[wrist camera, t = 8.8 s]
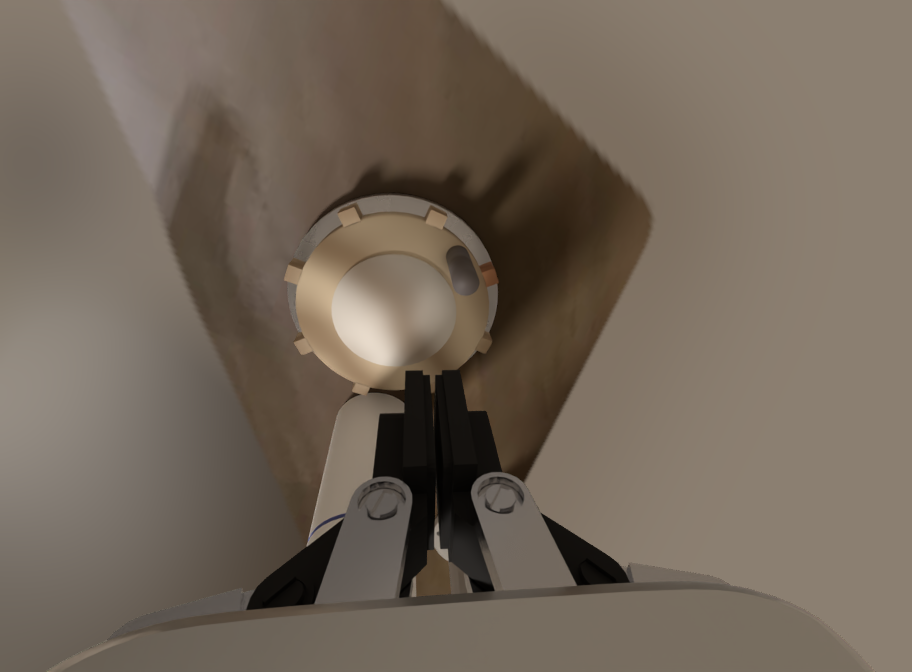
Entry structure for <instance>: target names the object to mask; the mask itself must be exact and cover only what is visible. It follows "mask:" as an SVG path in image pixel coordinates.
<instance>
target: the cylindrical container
mask: <svg viewBox="0 0 912 672" xmlns="http://www.w3.org/2000/svg"><path fill="white" fill-rule="evenodd" d="M381 413H404V403H403V402H402V401H401V400H399V399H398V398H396V397H394V396H391V395H388V394H383V393H367V395H366V396H365V395H358V396H356V397H353V398H352V399H350V400H348V401H347V402H346V403H345V404H344V405H343V406H342V407H341V408H340V410H339V412H338V414H337V418H336V422H335V427H334V431H333V435H332V439H331V444H330V448H329V452H328V457H327V461H326V465H325V470H324V474H323V478H322V482H321V487H320V491H319V495H318V500H317V504H316V508H315V513H314V517H313V521H312V526H311V530H310V534H309V539H308V543H307V546H308V545H310V544H311V543H312V542H314V541H315V540H316V539H317V538H319V537H320V536H321V535H323V534H324V533H325V532H326V531H328V530H329V529H330V528H332V527H333V526H334V525H336V524H337V523H338V522H339V521H341V520H342V519H343V518H344V517H345V514H346V511H347V509H348V506H349V503H350V500H351V497H352V495H353V494H354V492H355V490H356V489H357V488H358V487H359V486H360V485H361V484H363V483H364V482H366V481H368V480H370V479H372V476H373V467H374V458H375V449H376V440H377V431H378V422H379V415H380V414H381ZM412 597H416V576H415V577H414V578H413V590H412Z"/></svg>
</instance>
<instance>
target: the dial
mask: <svg viewBox="0 0 912 672" xmlns="http://www.w3.org/2000/svg"><path fill="white" fill-rule="evenodd" d="M337 215H338V217H339V219H340V221H341V223H342V225H340V226H339V227H337V228H336V229H334V230H333V231H331V232H330V233H329V234H328V235H327V236H326V237H325V238H323V239H322V241H321V242H320V243H319V244H318V245H317V247H316V248H315V249H314V251H313V252H312V254H311V255H310V257H309V259H308V260H307V262H304V261H301V260H299V259H296V258H293V259H292V261H291V262H290V263H289V265H288V268H287V271H286V274H285V278H284V280H285V281H288V282H291V283H293V284H296V285H297V291H296V312H297V317H298V321H299V325H300V328H301V330H302V332H299V333H298V334H297V336H296V338H295V340H294V344H295V345H296V347H297V348H298V350H299V352H300V353H301V355H303V354H306V353H309V352H312V351H314V353H315V354H316V355H317V356H318V357H319V358H320V360H321V361H322V362H323V363H325V364H326V365H327V366H328V367H329V368H331V369H332V370H333V371H335V372H336V373H338V374H339V375H341V376H342V377H344V378H346V379H348V380H350V381H352V382H354V384H353V389H352V392H355V393H358V394H361V395H365V396H366V395H367V393H368V391H369V389H370V387H371V388H376V389H383V390H405V371H409V370H423V375H430V384H431V393H434V392H435V375H442V370H457V369H458V368H459V367H460V366H462V365H463V364H464V363H465V362H466V361H467V360H468V359H469V357H470V356H471V355H472V354H473V353H474V351H475V350H476V351H479V352H482V353H484V354H486V352H487V351H488V349H489V347H490V345H491V344H492V339H491V336H490V333H489V332H486V331H485V329H486V326H487V321H488V315H489V297H488V290H487V287H489V286H492V285H495V284H497V283H499V281H498V278H497V275H496V272H495V269H494V267H493V265H492V263H491V261H490V262H488V263H485V264H482V265H480V266H479V265H478V263H477V261H476V259H475V257H474V256H473V254H472V252H471V251H470V250H469V249H468V247H467V246H466V245H465V244H464V242H463V241H461V240H460V239H459V238H458V237H457V236H456V235H455V234H454V233H453V232H451V231H450V230H448V229H447V228H446V227H444V224H445V222H446V220H447V218H448V217H447V214H446V212H445V211H443V210H440V209H438V208H436V207H434V206H432V205H430V206H429V209H428V211H427V213H426V216H425V217H422V216H419V215H415V214H411V213H405V212H395V211H392V212H377V213H371V214H366V215H362V212H361V210H360V208H359V206H358V204H357V202H356V203H354V204H351V205H349V206H346V207H343V208H341V209H340V210H339V212H338V213H337Z"/></svg>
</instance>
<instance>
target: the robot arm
mask: <svg viewBox="0 0 912 672" xmlns="http://www.w3.org/2000/svg"><path fill="white" fill-rule="evenodd" d="M435 493H436V494H437V509H438V516H437V517H436V519H435ZM434 547H435V549H436V550H437V552H438V553H439V554H440V555H441V556H442V557H443V558H444V559H446V560H448V561H449V571H450V583H451V594H448V595H434V596H420V597H412V590H413V578H414V577H415V576H416V575H417V574H418V573H419V572H420V571H421V570H422V569H423V568H424V567H425V566H426V564H427V550H434ZM46 672H876V671H875V670H874V669H873V668H872V667H871V666H870V665H869V664H868V663H867V662H866V661H865V660H864V659H863V658H862V657H861V656H860V655H859V654H858V652H857V651H855V649H853V648H852V647H851V646H850V645H849V644H848V643H847V642H846V641H845V640H844V639H843V638H842V637H841V636H840V635H839V634H837V632H835V631H834V630H833V629H832V628H831V627H830V626H828V625H827V624H826V623H824V622H823V621H822V620H821V619H819V618H818V617H816V616H815V615H813V614H811V613H810V612H808V611H806V610H805V609H803V608H800V607H798V606H796V605H794V604H792V603H790V602H787V601H785V600H782V599H780V598H777V597H775V596H771V595H768V594H765V593H762V592H758V591H755V590H752V589H748V588H743V587H737V586H732V585H730V584H728V583H726V582H725V581H723V580H722V579H719V578H716V577H713V576H709V575H703V574H696V573H691V572H685V571H679V570H672V569H666V568H660V567H654V566H648V565H641V564H635V563H629V565H628V567H624V566H620V565H619V564H618V563H617V562H616V561H615V560H614V559H612V558H611V557H610V556H608V555H607V554H605V553H603V552H602V551H600V550H599V549H597V548H596V547H594V546H593V545H591V544H589V543H588V542H586V541H585V540H583V539H581V538H580V537H578V536H577V535H575V534H573V533H572V532H570V531H569V530H567V529H566V528H564V527H562V526H561V525H559V524H558V523H556V522H555V521H553V520H551V519H550V518H548V517H547V516H545V515H543V514H542V513H540V511H539V509H538V507H537V505H536V504H535V501H534V500H533V498H532V496H531V494H530V492H529V490H528V488H527V487H526V485H525V484H524V483H523V482H522V481H521V480H519V479H518V478H517V477H515V476H512V475H510V474H507V473H502V469H501V466H500V462H499V458H498V454H497V450H496V446H495V442H494V438H493V434H492V430H491V426H490V423H489V419H488V415H487V412H486V411H468V410H467V405H466V400H465V395H464V389H463V384H462V379H461V374H460V370H442V375H435V402H434V427H433V412H432V398H431V384H430V375H423V370H409V371H405V401H404V413H381V414H380V415H379V422H378V431H377V440H376V449H375V458H374V467H373V476H372V479H370V480H368V481H366V482H364V483H363V484H361V485H360V486H359V487H358V488H357V489H356V490H355V492H354V494H353V495H352V497H351V500H350V503H349V506H348V509H347V511H346V514H345V517H344V518H343V519H342V520H341V521H339V522H338V523H337V524H336V525H334V526H333V527H332V528H330V529H329V530H328V531H326V532H325V533H324V534H323V535H321V536H320V537H319V538H317V539H316V540H315V541H314V542H312V543H311V544H310V545H308V546H307V547H306V548H304V549H303V550H302V551H301V552H299V553H298V554H297V555H295V556H294V557H293V558H291V559H290V560H289V561H288V562H286V563H285V564H284V565H282V566H281V567H280V568H279V569H277V570H276V571H275V572H273V573H272V574H271V575H269V576H268V577H267V578H266V579H265V580H264V581H263V582H262V583H261V584H260V585H259V586H258V587H257V588H256V589H255V590H251V591H248V592H244V593H243V590H242V588H240V589H236V590H233V591H229V592H225V593H222V594H218V595H214V596H211V597H207V598H204V599H200V600H197V601H193V602H189V603H186V604H182V605H179V606H175V607H171V608H168V609H164V610H160V611H157V612H153V613H150V614H146V615H143V616H140V617H138V618H136V619H134V620H131V621H129V622H127V623H126V624H125V625H123V626H122V627H120V628H119V629H118V630H117V631H115V632H114V633H113V634H112V635H111V636H110V637H109V638H108V639H107V641H105V642H102V643H100V644H98V645H95V646H93V647H90V648H88V649H86V650H84V651H82V652H80V653H78V654H76V655H74V656H72V657H70V658H68V659H67V660H65V661H63V662H61V663H59V664H58V665H56V666H54V667H53V668H51V669H49V670H47V671H46Z"/></svg>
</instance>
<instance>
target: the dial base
mask: <svg viewBox="0 0 912 672" xmlns="http://www.w3.org/2000/svg"><path fill="white" fill-rule="evenodd" d="M356 202H357V204H358V206H359V208H360V210H361V212H362V215H366V214H371V213H377V212H392V211H395V212H405V213H411V214H415V215H419V216H422V217H425V216H426V213H427V211H428V209H429V206H430V205H432V206H434V207H436V208H438V209H440V210H443V211H445V212H446V214H447V217H448V218H447V220H446V222H445V224H444V227H446V228H447V229H448V230H450V231H451V232H453V233H454V234H455V235H456V236H457V237H458V238H459V239H460V240H461V241H463V242H464V244H465V245H466V246H467V247H468V249H469V250H470V251H471V252H472V254H473V256H474V257H475V259H476V261H477V263H478V265H479V266H480V265H482V264H485V263H488V262H490V261H491V259H490V257H489V254H488V252H487V250H486V249H485V247H484V245H483V244H482V242H481V240H480V238H479V237H478V236H477V235H476V233H475V232H474V231H473V230H472V228H471V227H470V226H469V225H468V224H467V223H466V222H465V221H463V220H462V219H461V218H460V217H459V216H457V215H456V214H455V213H453V212H452V211H451V210H449V209H447V208H445V207H443V206H442V205H440V204H438V203H436V202H433V201H431V200H428V199H425V198H422V197H418V196H414V195H410V194H401V193H378V194H372V195H366V196H362V197H359V198H356V199H353V200H350V201H348V202H346V203H343V204H341V205H339V206H337V207H336V208H334V209H333V210H331V211H330V212H328V213H327V214H325V215H324V216H323V217H322V218H321V219H320V220H319V221H318V222H317V223H315V224H314V226H313V227H312V228H311V229H310V231H309V232H308V233H307V234H306V236H305V237H304V238H303V239H302V241H301V243H300V245H299V246H298V248H297V250H296V252H295V255H294V257H293V258H296V259H299V260H301V261H304V262H307V260H308V259H309V257H310V255H311V254H312V252H313V251H314V249H315V248H316V247H317V245H318V244H319V243H320V242H321V241H322V239H323V238H325V237H326V236H327V235H328V234H329V233H330V232H331V231H333V230H334V229H336V228H337V227H339V226H340V225H342V223H341V221H340V219H339V217H338V215H337V213H338V212H339V210H340V209H341V208H343V207H346V206H349V205H351V204H354V203H356ZM491 263H492V261H491ZM492 265H493V264H492ZM487 290H488V297H489V315H488V321H487V326H486V329H485V331H486V332H489V331H490V329H491V327H492V324H493V321H494V318H495V314H496V308H497V302H498V287H497V284H495V285H492V286H489V287H487ZM287 291H288V303H289V307H290V311H291V315H292V318H293V320H294V323H295V325H296V328H297V330H298V331H299V332H302V330H301V328H300V325H299V321H298V317H297V312H296V291H297V285H296V284H293V283H291V282H288V288H287ZM313 352H314V351H313ZM475 352H476V350H475V351H474V353H473V354H472V355H471V356H470V357H469V359H470V358H471V357H472V356H473V355H474V354H475Z"/></svg>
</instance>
